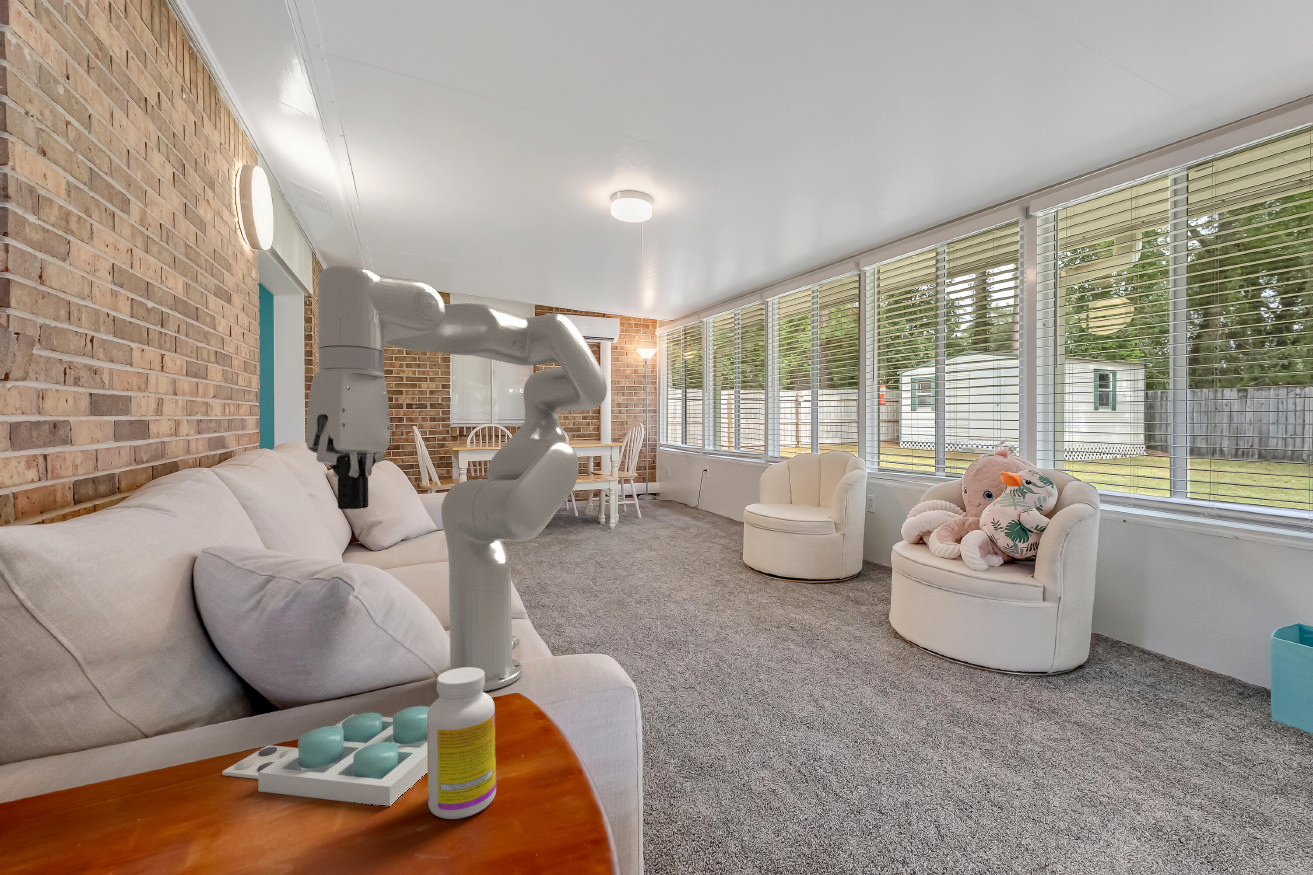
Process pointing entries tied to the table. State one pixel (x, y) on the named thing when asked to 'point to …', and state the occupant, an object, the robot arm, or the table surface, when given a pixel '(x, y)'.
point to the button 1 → (320, 747)
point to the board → (348, 774)
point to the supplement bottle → (461, 745)
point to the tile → (257, 762)
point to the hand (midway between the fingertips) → (353, 508)
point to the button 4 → (410, 725)
